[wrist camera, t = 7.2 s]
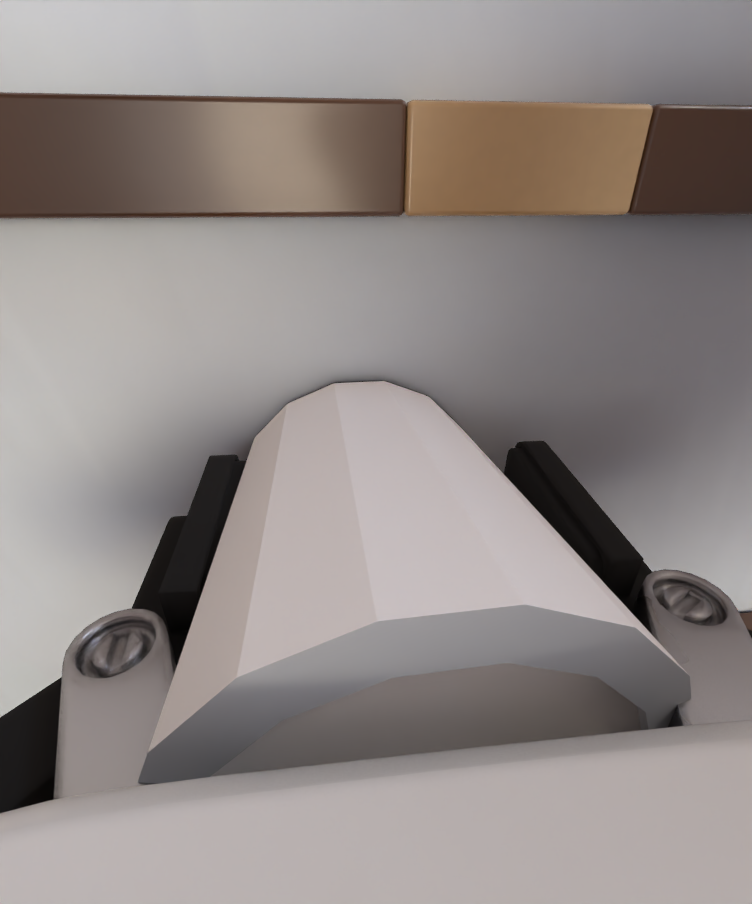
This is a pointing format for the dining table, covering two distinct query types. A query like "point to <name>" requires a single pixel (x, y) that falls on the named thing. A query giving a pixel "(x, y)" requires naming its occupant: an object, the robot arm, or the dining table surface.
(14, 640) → the dining table surface
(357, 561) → the white cup
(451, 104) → the guide rails
